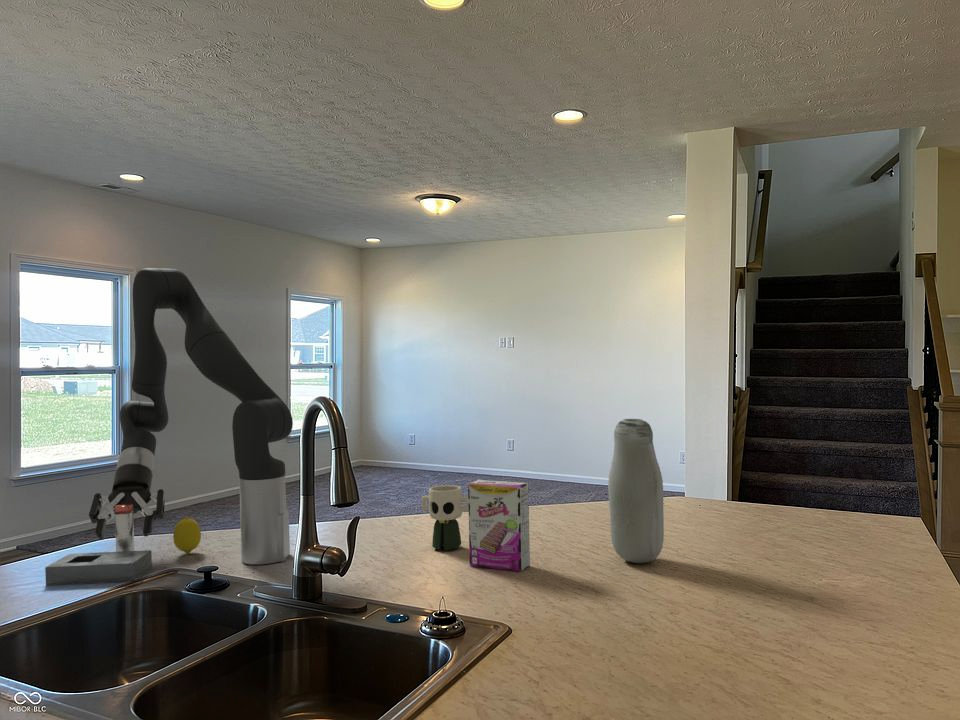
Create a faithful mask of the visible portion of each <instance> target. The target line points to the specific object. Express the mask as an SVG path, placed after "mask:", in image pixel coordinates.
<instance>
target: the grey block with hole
mask: <svg viewBox="0 0 960 720" xmlns="http://www.w3.org/2000/svg"><path fill="white" fill-rule="evenodd" d="M152 553H153V552H152V549H151V550H149V549H148V550H146V549H145V550H134V551H122V552H116V551H104V552H83V553H79V552H78V553H69V554H67V555H65V556H63V557H62V558H60V559H58V560H55V561H54V562H52V563H50V564H48V565H47V566H45V567H44V569H45V570H44V571H45V586H46V585H47V586H48V585H49V586H64V585H65V586H69V585H68V584H70V585H86V584H87V585H89V584H92V585H93V584H108V583H129V582H128V581H133V582H135V581H136V580H137V579H139V578H140V577H141V576H143V575H144V574H145V573H146V571H147V570H148V571H149V570H151V569H152V568H153V560H152V559H153V558H152V557H153V556H152ZM151 567H152V568H151ZM150 568H151V569H150ZM148 571H147V572H148ZM143 573H144V574H143ZM142 574H143V575H142ZM140 575H141V576H140ZM139 576H140V577H139ZM138 577H139V578H138ZM136 578H137V579H136ZM135 579H136V580H135ZM134 580H135V581H134Z"/></svg>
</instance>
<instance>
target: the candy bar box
mask: <svg viewBox="0 0 960 720" xmlns="http://www.w3.org/2000/svg"><path fill="white" fill-rule="evenodd" d="M467 490H468V491H467V494H468V495H467V497H468V503H469V504H468V505H469V512H468V535H469V537H468V540H469V543H468V545H469V550H468V551H469V566H470V567H477V568H487V569H495V570H504V571H511V572H524V571H525V569H526V568H528V567H529V566H530V565H531V555H530V554H531V553H530V552H531V550H530V510H529V509H530V508H529V505H530V504H529V503H530V502H529V496H530V495H529V494H530V491H529V483H528V482H522V481H521V482H519V481H505V480H504V481H501V480H490V479H475V480H474V481H473V480H472V481H471V482H469V483H467Z"/></svg>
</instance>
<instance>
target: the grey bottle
mask: <svg viewBox="0 0 960 720" xmlns="http://www.w3.org/2000/svg"><path fill="white" fill-rule="evenodd" d="M613 440H614V442H613V443H614V445H613V456H612V460H611V463H610V464H611V465H610V470H609V474H608V482H607V483H608V484H607V485H608V486H607V487H608V488H607V489H608V504H609V525H610V526H609V527H610V528H609V530H610V539H611V540H610V541H611V544H612V546H613V548H614V551H615V552H616V554H617V555H618V556H619V557H620V558H621V559H622V560H625V561H627V562H629V563H634V564H646V563H651V562H652V561H654V560H655V559H657V558H658V557H659V555H660V554H661V552H662V549H663V545H664V539H665V538H664V537H665V536H664V535H665V534H664V533H665V529H664V528H665V527H664V524H665V523H664V520H665V519H664V482H663V476H662V471H661V468H660V465H659V462H658V459H657V455H656V451H655V446H654V441H653V440H654V432H653V430H652V426H651V425H650V423H648V422H647V421H645V420H643V419H642V418H641V419H640V418H624V419H622V420H620V421H619V422H618V423H617V424H616V426H615V428H614V431H613Z"/></svg>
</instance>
